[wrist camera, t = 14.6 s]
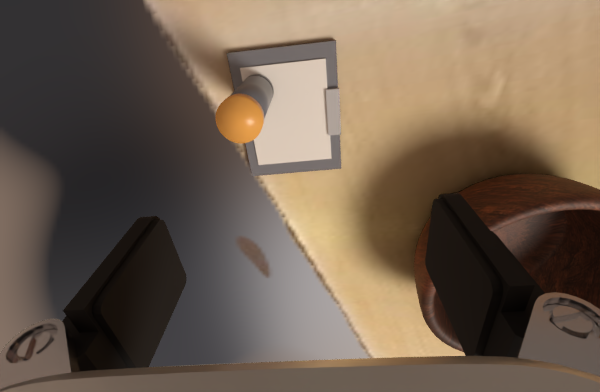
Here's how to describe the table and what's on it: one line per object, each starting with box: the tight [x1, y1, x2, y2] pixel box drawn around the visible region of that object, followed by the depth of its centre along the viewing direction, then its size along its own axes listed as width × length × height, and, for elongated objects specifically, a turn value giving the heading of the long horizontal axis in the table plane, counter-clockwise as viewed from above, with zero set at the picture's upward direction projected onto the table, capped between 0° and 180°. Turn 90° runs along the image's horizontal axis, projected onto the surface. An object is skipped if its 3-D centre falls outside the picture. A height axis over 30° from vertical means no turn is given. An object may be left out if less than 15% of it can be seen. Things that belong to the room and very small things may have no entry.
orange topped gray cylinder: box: [216, 74, 274, 143], centre depth 28 cm, size 4×4×11 cm
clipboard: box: [227, 40, 341, 176], centre depth 35 cm, size 11×14×1 cm
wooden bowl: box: [414, 174, 600, 352], centre depth 39 cm, size 25×25×10 cm
